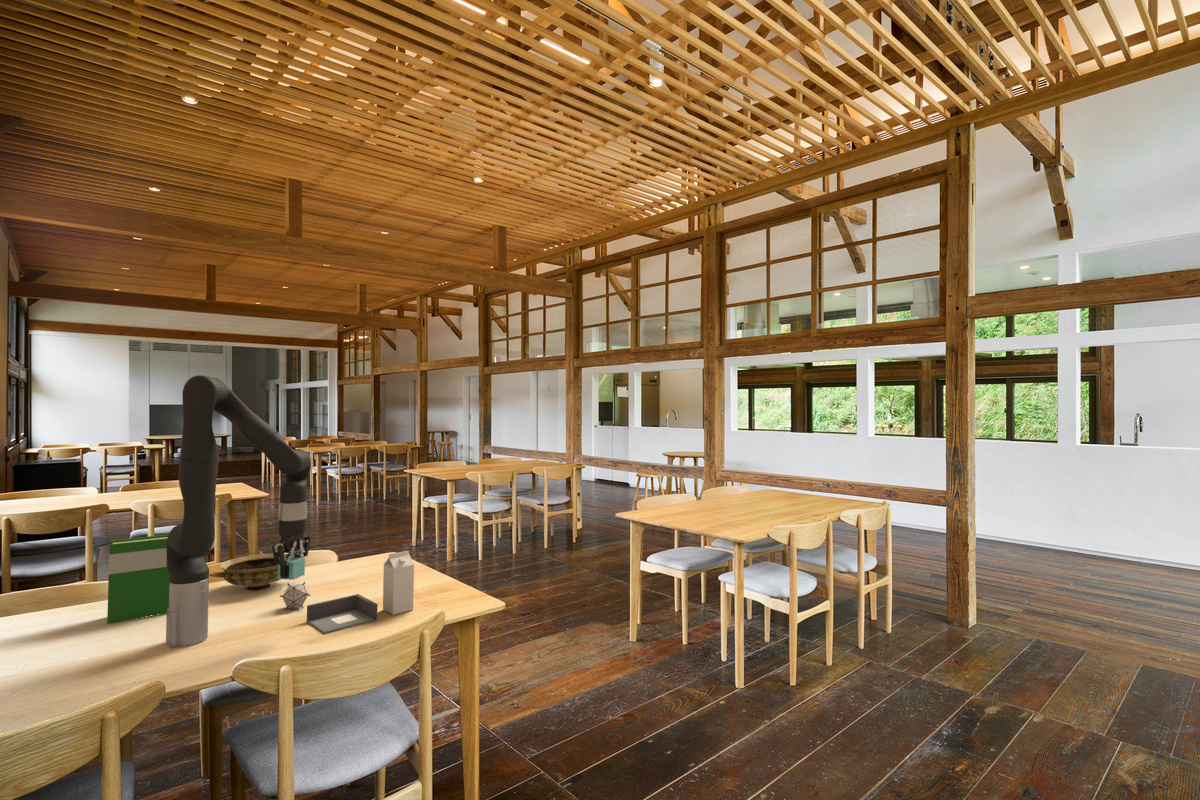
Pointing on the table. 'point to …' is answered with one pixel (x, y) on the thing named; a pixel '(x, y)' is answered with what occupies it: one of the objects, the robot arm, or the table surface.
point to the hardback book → (137, 578)
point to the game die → (295, 595)
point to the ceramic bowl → (250, 571)
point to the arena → (341, 613)
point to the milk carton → (398, 583)
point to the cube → (294, 568)
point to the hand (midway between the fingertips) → (291, 575)
